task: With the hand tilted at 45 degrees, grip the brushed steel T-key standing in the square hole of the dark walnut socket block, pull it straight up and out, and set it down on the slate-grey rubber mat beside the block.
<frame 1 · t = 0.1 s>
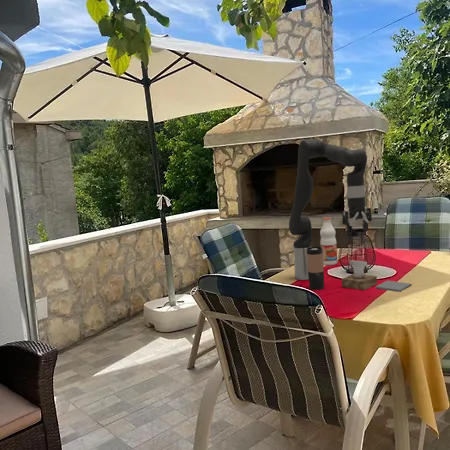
hand: (357, 232, 193), 29 cm above the table, tool pointing down, fingers open, 8 cm apart
socket block: (359, 285, 215), on the table
travel mug: (316, 288, 217), on the table
grey mat: (393, 286, 208), on the table
fruit juice: (329, 263, 266), on the table
t key: (358, 273, 214), in the socket block
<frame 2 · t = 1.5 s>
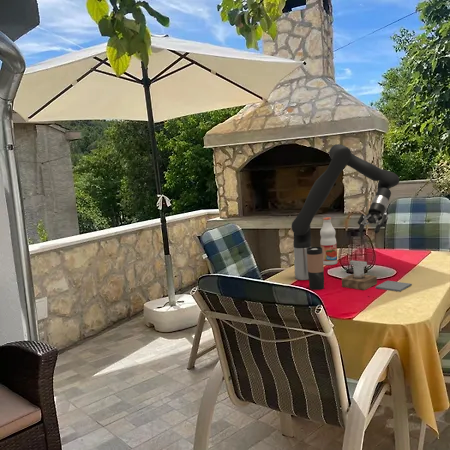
hand: (367, 232, 218), 25 cm above the table, tool tilted 45°, fingers open, 8 cm apart
nothing on the table moved.
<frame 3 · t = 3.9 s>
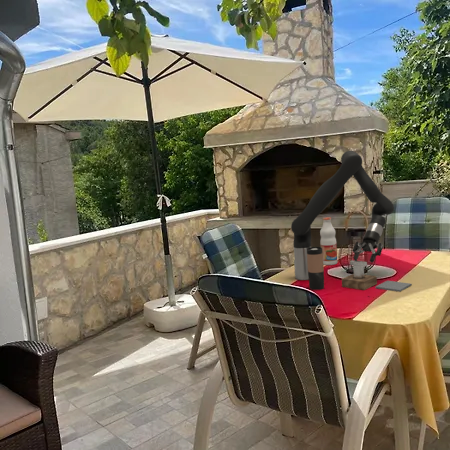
hand: (362, 260, 217), 11 cm above the table, tool tilted 45°, fingers open, 8 cm apart
nothing on the table moved.
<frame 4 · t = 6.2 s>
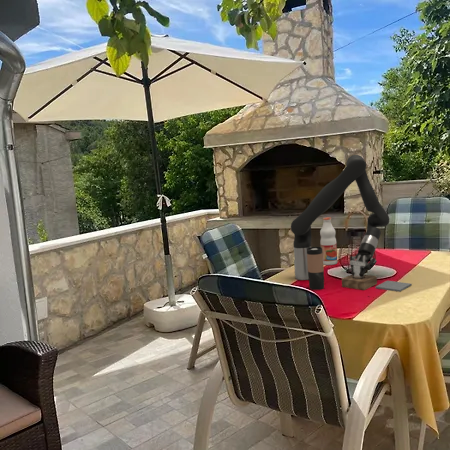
hand: (356, 275, 213), 6 cm above the table, tool tilted 45°, fingers closed on t key, 3 cm apart
t key: (358, 273, 214), in the socket block, touching gripper, hand
everything else where it was.
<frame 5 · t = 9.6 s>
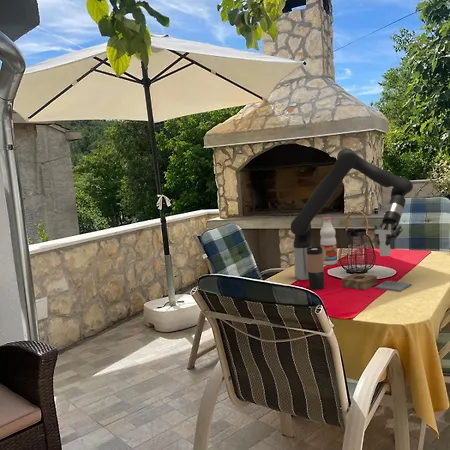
hand: (382, 244, 205), 21 cm above the table, tool tilted 45°, fingers closed on t key, 3 cm apart
t key: (384, 242, 207), point 21 cm above the table, touching gripper, hand
everything else where it was.
when the fingers open (7 cm above the table, at t = 13.3 s): t key stays where it is, resting on grey mat.
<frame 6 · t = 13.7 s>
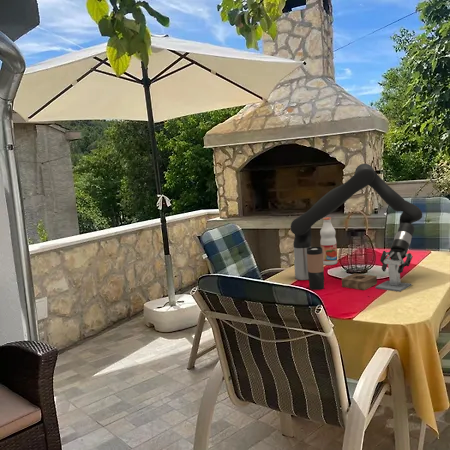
hand: (391, 271, 206), 8 cm above the table, tool tilted 45°, fingers open, 7 cm apart
t key: (394, 272, 207), on the grey mat, point 7 cm above the table, tilted 6°
everything else where it was.
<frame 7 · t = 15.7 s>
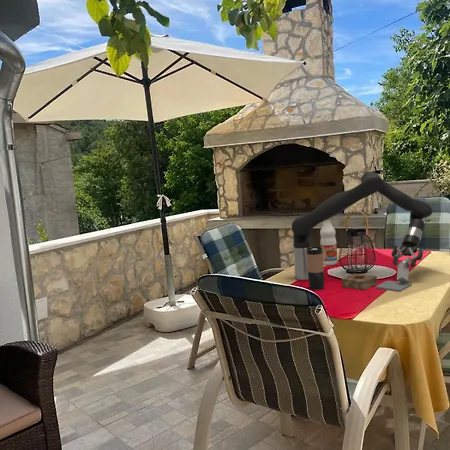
hand: (403, 265, 214), 8 cm above the table, tool tilted 45°, fingers open, 8 cm apart
t key: (403, 270, 211), on the table, tilted 55°, touching grey mat
everything else where it was.
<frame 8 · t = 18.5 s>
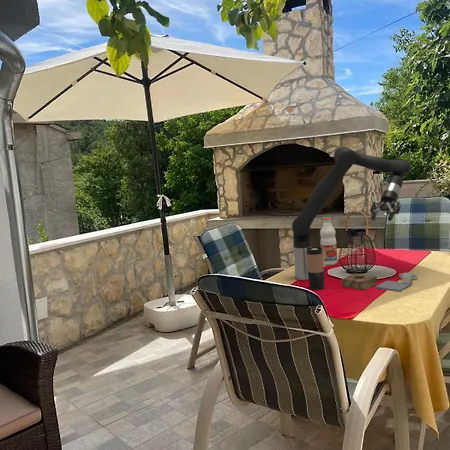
hand: (380, 219, 216), 31 cm above the table, tool tilted 45°, fingers open, 8 cm apart
t key: (407, 277, 213), on the table, tilted 96°, touching grey mat
everything else where it was.
at the end: t key inside the target area (6.5 cm from its centre), point 2.1 cm above the table; the gripper is holding nothing; t key touching grey mat, table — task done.
